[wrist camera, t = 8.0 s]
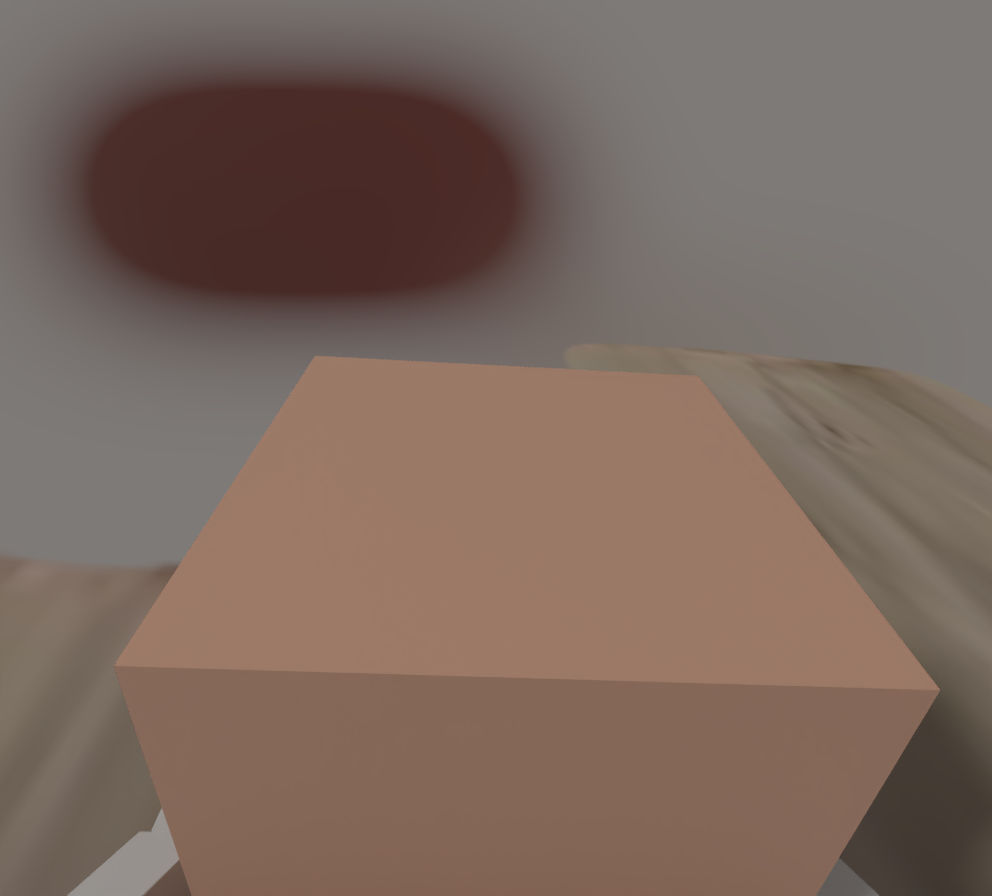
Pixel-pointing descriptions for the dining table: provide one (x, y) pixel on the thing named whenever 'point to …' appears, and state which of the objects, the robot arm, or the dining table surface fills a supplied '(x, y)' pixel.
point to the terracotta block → (513, 651)
